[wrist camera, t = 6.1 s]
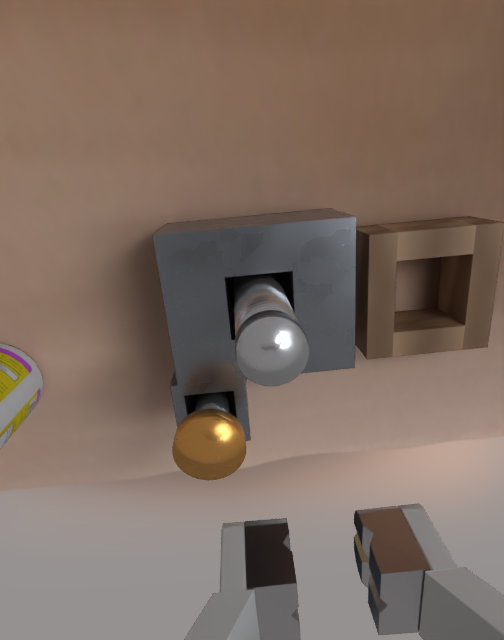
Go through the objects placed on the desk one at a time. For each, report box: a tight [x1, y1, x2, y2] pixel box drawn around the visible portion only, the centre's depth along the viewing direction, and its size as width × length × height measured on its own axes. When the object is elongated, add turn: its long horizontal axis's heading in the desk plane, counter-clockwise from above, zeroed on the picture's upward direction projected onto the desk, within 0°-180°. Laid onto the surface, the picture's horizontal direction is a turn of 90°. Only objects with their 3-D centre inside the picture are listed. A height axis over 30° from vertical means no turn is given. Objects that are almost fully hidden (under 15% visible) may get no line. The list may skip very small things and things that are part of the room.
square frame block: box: [355, 216, 504, 359], centre depth 29 cm, size 9×9×4 cm
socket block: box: [152, 208, 356, 441], centre depth 29 cm, size 12×15×6 cm
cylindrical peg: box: [233, 273, 309, 386], centre depth 25 cm, size 4×4×13 cm
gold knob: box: [173, 391, 246, 480], centre depth 27 cm, size 4×4×6 cm
